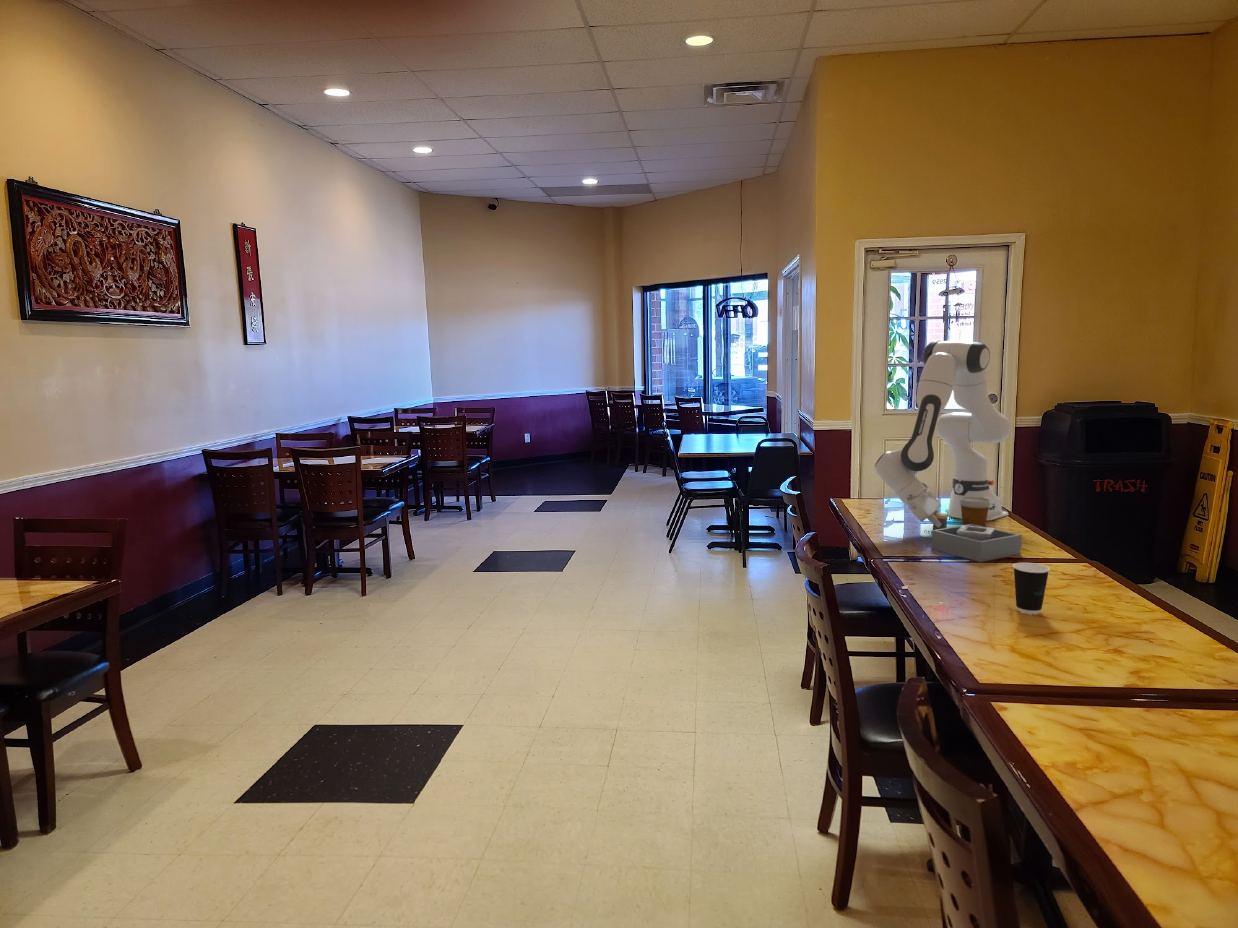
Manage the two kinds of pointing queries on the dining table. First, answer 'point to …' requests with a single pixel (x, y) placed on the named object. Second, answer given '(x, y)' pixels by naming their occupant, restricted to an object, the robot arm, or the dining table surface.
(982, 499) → the disposable coffee cup
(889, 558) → the dining table surface
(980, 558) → the walled box
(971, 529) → the inlet socket
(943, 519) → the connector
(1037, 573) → the dixie cup
